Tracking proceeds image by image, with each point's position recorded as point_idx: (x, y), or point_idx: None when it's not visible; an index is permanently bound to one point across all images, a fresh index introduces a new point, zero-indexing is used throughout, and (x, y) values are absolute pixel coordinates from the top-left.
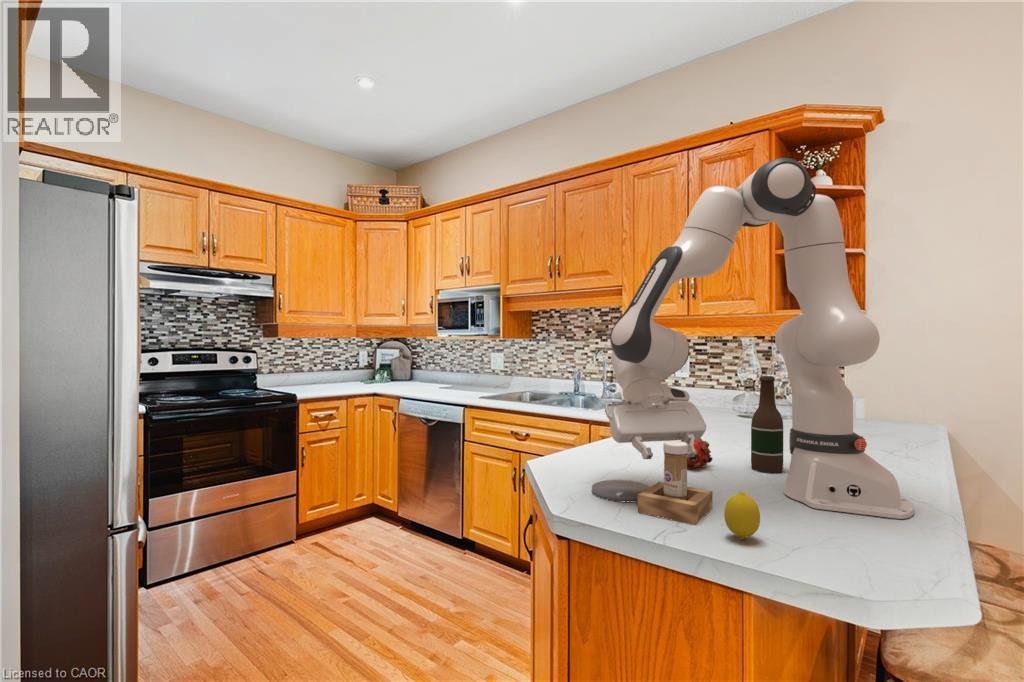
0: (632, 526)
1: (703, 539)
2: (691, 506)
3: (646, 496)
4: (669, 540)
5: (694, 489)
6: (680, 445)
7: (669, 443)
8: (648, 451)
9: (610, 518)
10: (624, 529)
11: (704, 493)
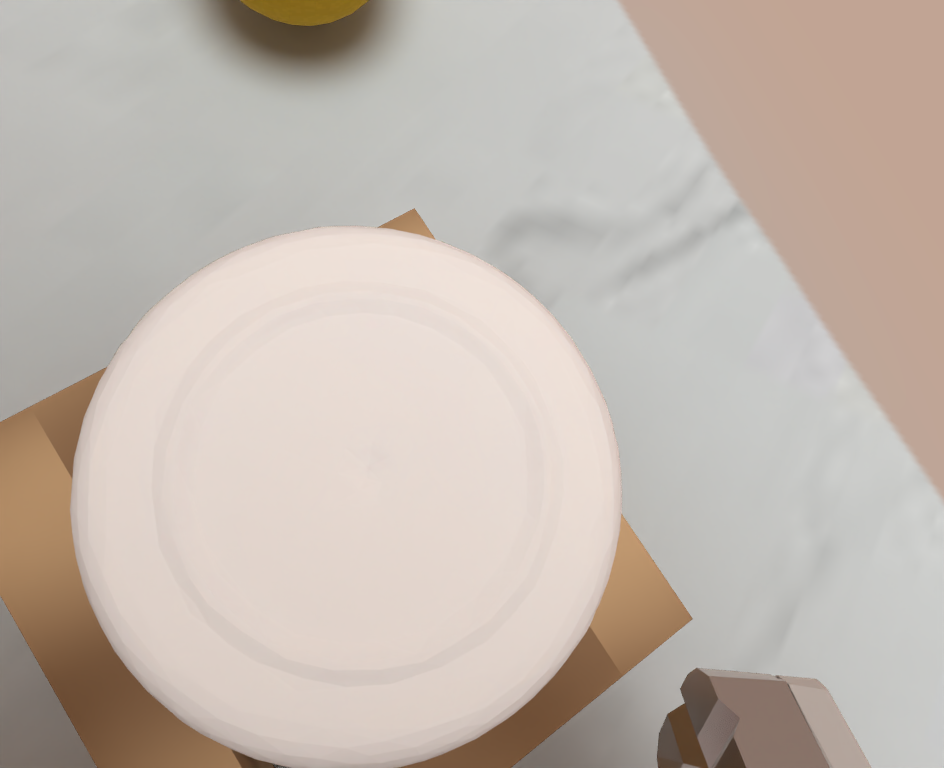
0: (775, 398)
1: (502, 92)
2: (428, 232)
3: (643, 546)
4: (680, 157)
5: (66, 572)
6: (419, 240)
7: (560, 440)
8: (792, 716)
9: (848, 573)
10: (837, 376)
11: (78, 425)
